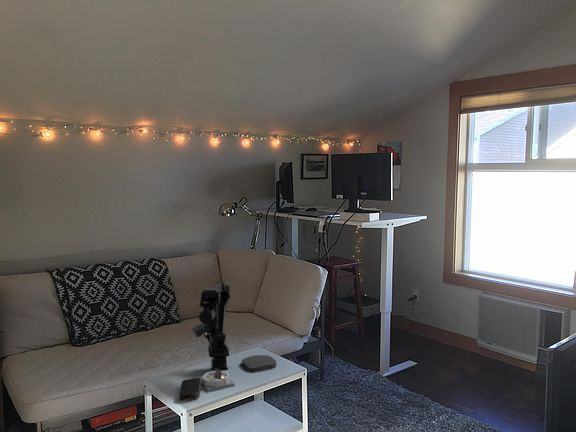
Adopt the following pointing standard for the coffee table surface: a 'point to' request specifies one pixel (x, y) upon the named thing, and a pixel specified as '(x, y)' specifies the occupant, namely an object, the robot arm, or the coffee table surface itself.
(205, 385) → the dial panel
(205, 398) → the coffee table surface
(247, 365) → the media streaming box
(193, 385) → the black sponge
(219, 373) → the dial
